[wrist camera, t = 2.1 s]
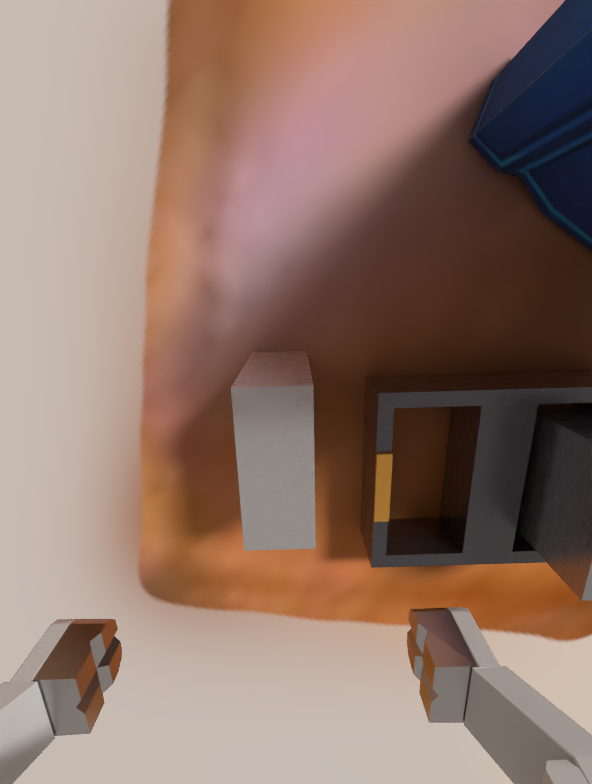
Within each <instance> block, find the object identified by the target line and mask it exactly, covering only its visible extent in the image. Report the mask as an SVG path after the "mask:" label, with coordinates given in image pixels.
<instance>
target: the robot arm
mask: <svg viewBox="0 0 592 784" xmlns="http://www.w3.org/2000/svg"><path fill="white" fill-rule="evenodd" d="M408 620H409V623H410V626H411V629H410V630H409V631H408V633H407V646H408V655H409V659H410V664H411V667H412V670H413V673H414V675H415V676H416V677H417V678H418V679H419V680H420V696H421V699H422V702H423V705H424V708H425V711H426V714H427V717H428V720H429V722H438V723H440V722H444V723H445V722H446V723H451V722H452V723H453V722H454V723H456V722H457V723H459V722H460V723H462V722H463V723H464V725H465V726H466V728H467V729H468V730H469V731H470V732H471V734H472V735H473V736H474V737H475V738H476V739H477V741H478V742H479V743H480V744H481V745H482V747H483V748H484V749H485V750H486V751H487V752H488V754H489V755H490V756H491V757H492V758H493V760H494V761H495V762H496V763H497V764H498V765H499V767H500V768H501V769H502V770H503V771H504V772H505V774H506V775H507V776H508V777H509V778H510V780H511V781H512V782H513V783H514V784H592V735H591V734H590V733H588V732H587V731H586V730H585V729H583V728H582V727H581V726H580V725H578V724H577V723H576V722H575V721H574V720H572V719H571V718H570V717H568V716H567V715H566V714H565V713H564V712H562V711H561V710H560V709H559V708H557V707H556V706H555V705H554V704H552V703H551V702H550V701H548V700H547V699H546V698H545V697H544V696H542V695H541V694H540V693H538V692H537V691H536V690H535V689H534V688H532V687H531V686H530V685H529V684H527V683H526V682H525V681H524V680H522V679H521V678H520V677H519V676H517V675H516V674H515V673H514V672H513V671H511V670H510V669H509V668H507V667H505V666H500V665H499V663H498V661H497V660H496V658H495V656H494V654H493V653H492V651H491V649H490V647H489V645H488V644H487V642H486V640H485V638H484V636H483V635H482V633H481V631H480V629H479V627H478V626H477V624H476V622H475V620H474V619H473V617H472V615H471V613H470V611H469V610H468V609H467V608H466V607H453V608H424V609H411V610H410V612H409V619H408ZM116 631H117V625H116V622H115V620H113V619H73V620H72V619H67V620H57V621H55V622H54V623H53V624H51V625H50V627H49V628H48V630H47V631H46V632H45V634H44V635H43V636H42V638H41V639H40V641H39V642H38V643H37V645H36V646H35V648H34V649H33V650H32V652H31V653H30V654H29V656H28V657H27V659H26V660H25V661H24V663H23V664H22V665H21V667H20V668H19V670H18V671H17V672H16V674H15V675H14V677H13V678H12V679H11V681H10V682H4V683H2V684H1V685H0V784H12V783H14V781H15V780H16V779H17V778H18V777H19V776H20V775H21V774H22V773H23V772H24V771H25V770H26V769H27V767H28V766H29V765H30V764H31V763H32V762H33V761H34V760H35V759H36V758H37V757H38V756H39V755H40V754H41V753H42V751H43V750H44V749H45V748H46V747H47V746H48V745H49V744H50V743H51V742H52V741H53V740H54V739H55V737H54V736H59V735H73V734H89V733H91V731H92V728H93V726H94V724H95V722H96V720H97V718H98V715H99V713H100V711H101V709H102V707H103V704H104V698H103V692H105V691H106V690H107V689H108V688H109V687H110V686H111V685H112V684H113V682H114V680H115V678H116V676H117V673H118V670H119V666H120V662H121V655H122V649H121V643H120V641H119V640H118V639H117V638H116V637H114V635H115V633H116Z"/></svg>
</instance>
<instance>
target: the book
mask: <svg viewBox="0 0 592 784" xmlns="http://www.w3.org/2000/svg"><path fill="white" fill-rule="evenodd" d="M468 141H469V142H470V143H471V144H472V145H473V147H474V148H475V149H476V150H477V151H478V152H479V153H480V154H481V155H482V156H483V157H484V158H485V159H486V160H487V161H488V162H489V163H490V165H491V166H492V167H493V168H494V169H495V170H496V171H500V172H504V173H508V174H511V175H515V176H519V177H521V179H522V180H523V182H524V183H525V185H526V187H527V188H528V190H529V192H530V193H531V195H532V196H533V198H534V200H535V201H536V203H537V204H538V206H539V208H540V209H541V211H542V212H543V214H544V215H546V216H547V217H548V218H549V219H551V220H552V221H553V222H555V223H556V224H557V225H559V226H560V227H561V228H562V229H564V230H565V231H566V232H568V233H569V234H570V235H572V236H573V237H574V238H575V239H577V240H578V241H579V242H581V243H582V244H583V245H585V246H586V247H587V248H588V249H590V250H591V251H592V0H565V1H564V3H563V4H562V5H561V6H560V7H559V8H558V9H557V10H556V11H555V12H554V14H553V15H552V16H551V17H550V18H549V19H548V20H547V21H546V22H545V24H544V25H543V26H542V27H541V28H540V29H539V30H538V31H537V32H536V33H535V35H534V36H533V37H532V38H531V39H530V40H529V41H528V42H527V43H526V45H525V46H524V47H523V48H522V49H521V50H520V51H519V52H518V53H517V55H516V56H515V57H514V58H513V59H512V60H511V61H510V62H509V63H508V65H507V66H506V67H505V68H504V69H503V70H502V71H501V72H500V74H499V75H498V76H497V77H496V78H495V79H494V80H493V81H492V82H491V85H490V87H489V90H488V92H487V95H486V97H485V100H484V102H483V105H482V107H481V110H480V112H479V115H478V117H477V120H476V122H475V125H474V127H473V130H472V132H471V135H470V137H469V140H468Z"/></svg>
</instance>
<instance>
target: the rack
mask: <svg viewBox="0 0 592 784" xmlns="http://www.w3.org/2000/svg"><path fill="white" fill-rule="evenodd" d="M421 407H451V417H450V426H449V436H448V445H447V455H446V464H445V474H444V483H443V493H442V502H441V512H440V518H412V519H389V512H390V495H391V477H392V460H393V454H392V440H393V422H394V408H421ZM361 532H362V536H363V539H364V543H365V546H366V550H367V554H368V557H369V561H370V564H371V567H404V566H437V565H471V564H504V563H538V562H547V563H548V564H549V566H550V567H551V568H552V569H553V570H554V571H555V572H556V573H557V574H558V575H559V576H560V578H561V579H562V580H563V581H564V582H565V583H566V584H567V585H568V586H569V587H570V588H571V590H572V591H573V592H574V593H575V594H576V595H577V596H578V597H579V598H580V599H581V600H582V601H583V600H592V370H589V371H554V372H520V373H485V374H450V375H416V376H381V377H366V382H365V415H364V448H363V481H362V513H361Z"/></svg>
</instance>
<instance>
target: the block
mask: <svg viewBox="0 0 592 784" xmlns="http://www.w3.org/2000/svg"><path fill="white" fill-rule="evenodd" d="M231 398H232V410H233V422H234V434H235V446H236V458H237V470H238V482H239V494H240V506H241V518H242V530H243V542H244V550H279V549H314V548H316V532H315V457H314V385H313V380H312V375H311V371H310V366H309V361H308V356H307V351H282V352H252V354H251V355H250V357H249V358H248V360H247V362H246V363H245V365H244V367H243V368H242V370H241V372H240V373H239V375H238V377H237V378H236V380H235V381H234V383H233V385H232V386H231Z"/></svg>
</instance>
